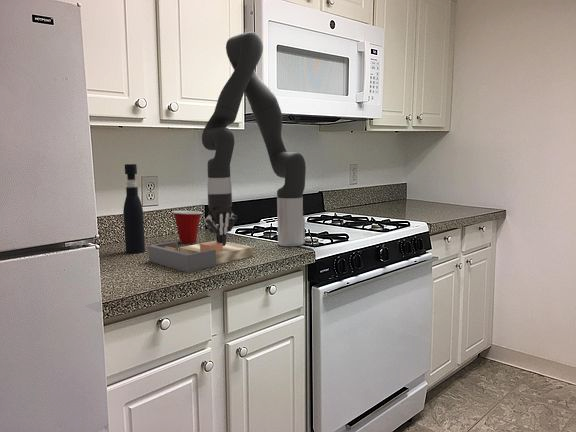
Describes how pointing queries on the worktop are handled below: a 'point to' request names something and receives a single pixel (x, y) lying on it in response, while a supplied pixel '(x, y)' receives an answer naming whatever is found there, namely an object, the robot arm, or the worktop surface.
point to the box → (181, 257)
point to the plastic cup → (187, 225)
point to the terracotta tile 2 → (211, 246)
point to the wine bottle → (133, 214)
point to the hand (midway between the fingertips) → (221, 245)
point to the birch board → (224, 252)
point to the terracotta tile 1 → (172, 248)
